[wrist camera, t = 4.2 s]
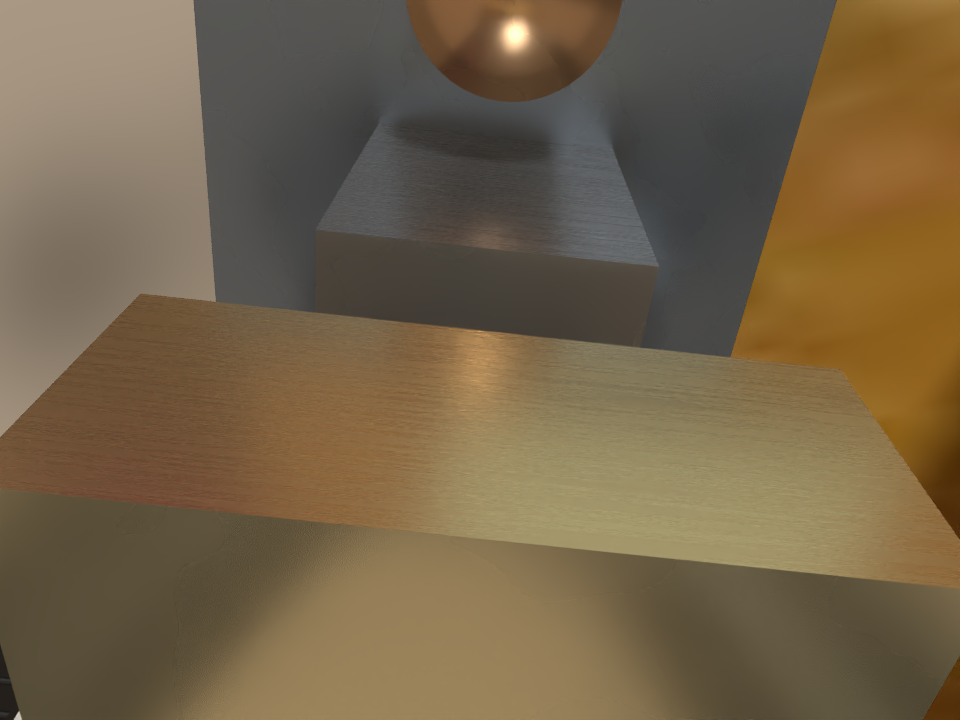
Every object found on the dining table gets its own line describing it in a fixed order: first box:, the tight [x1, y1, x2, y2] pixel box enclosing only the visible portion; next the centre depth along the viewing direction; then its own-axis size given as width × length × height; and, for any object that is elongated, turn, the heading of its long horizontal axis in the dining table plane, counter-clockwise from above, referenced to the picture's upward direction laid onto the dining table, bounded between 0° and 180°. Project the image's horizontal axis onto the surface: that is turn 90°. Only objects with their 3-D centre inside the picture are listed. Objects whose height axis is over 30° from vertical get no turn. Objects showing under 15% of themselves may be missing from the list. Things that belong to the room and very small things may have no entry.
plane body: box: [194, 0, 837, 357], centre depth 15 cm, size 18×10×8 cm, turn 175°
